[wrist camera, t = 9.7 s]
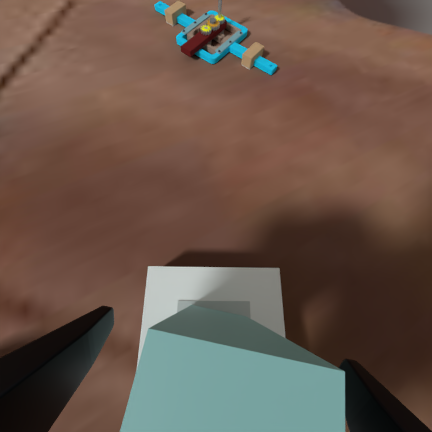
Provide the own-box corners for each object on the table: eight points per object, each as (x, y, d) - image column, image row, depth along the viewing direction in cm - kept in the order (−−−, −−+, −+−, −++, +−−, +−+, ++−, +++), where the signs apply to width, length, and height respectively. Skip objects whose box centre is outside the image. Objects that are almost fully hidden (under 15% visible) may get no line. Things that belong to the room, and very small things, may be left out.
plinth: (279, 410, 16) (294, 435, 13) (143, 410, 16) (128, 436, 13) (269, 271, 20) (279, 267, 17) (157, 270, 20) (147, 266, 17)
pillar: (237, 383, 14) (345, 712, 3) (177, 369, 14) (64, 635, 3) (246, 316, 16) (344, 371, 4) (191, 304, 16) (147, 328, 4)
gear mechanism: (248, 100, 27) (288, 60, 30) (257, 56, 22) (304, 11, 25) (132, 30, 31) (176, -1, 34) (116, -22, 26) (170, -53, 28)
